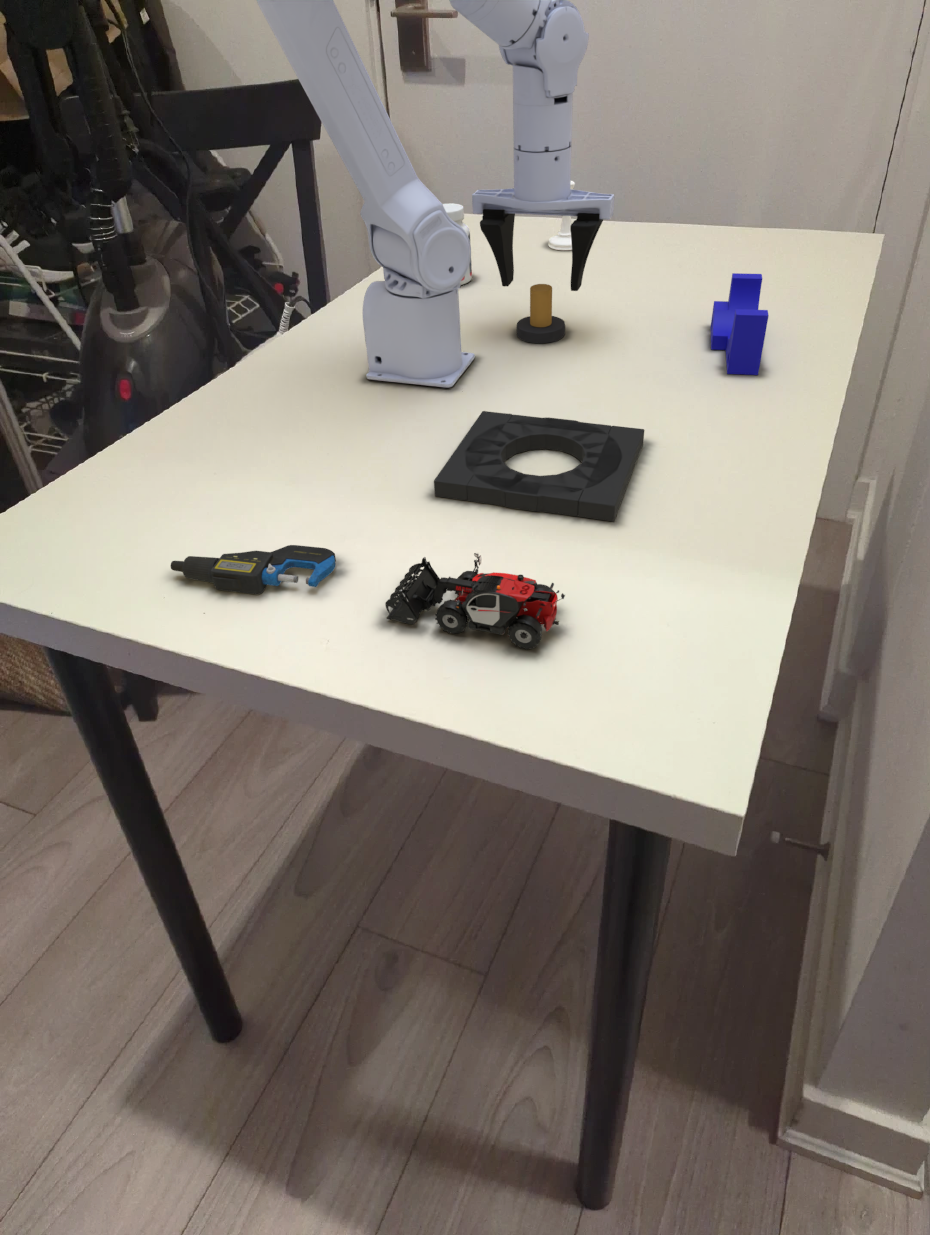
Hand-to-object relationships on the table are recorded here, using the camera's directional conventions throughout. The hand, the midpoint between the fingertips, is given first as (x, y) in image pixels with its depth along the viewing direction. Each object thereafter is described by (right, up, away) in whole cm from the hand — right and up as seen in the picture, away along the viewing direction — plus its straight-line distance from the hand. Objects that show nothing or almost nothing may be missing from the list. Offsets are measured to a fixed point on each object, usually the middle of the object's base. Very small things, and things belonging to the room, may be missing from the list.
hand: (541, 285), depth 95 cm
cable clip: (+20, -8, -2) cm, 22 cm away
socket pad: (-2, -23, -20) cm, 31 cm away
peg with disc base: (0, -4, +3) cm, 5 cm away
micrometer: (-24, -33, -30) cm, 50 cm away
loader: (-7, -36, -35) cm, 51 cm away
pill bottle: (-10, +8, +19) cm, 23 cm away
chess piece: (+6, +16, +28) cm, 33 cm away
